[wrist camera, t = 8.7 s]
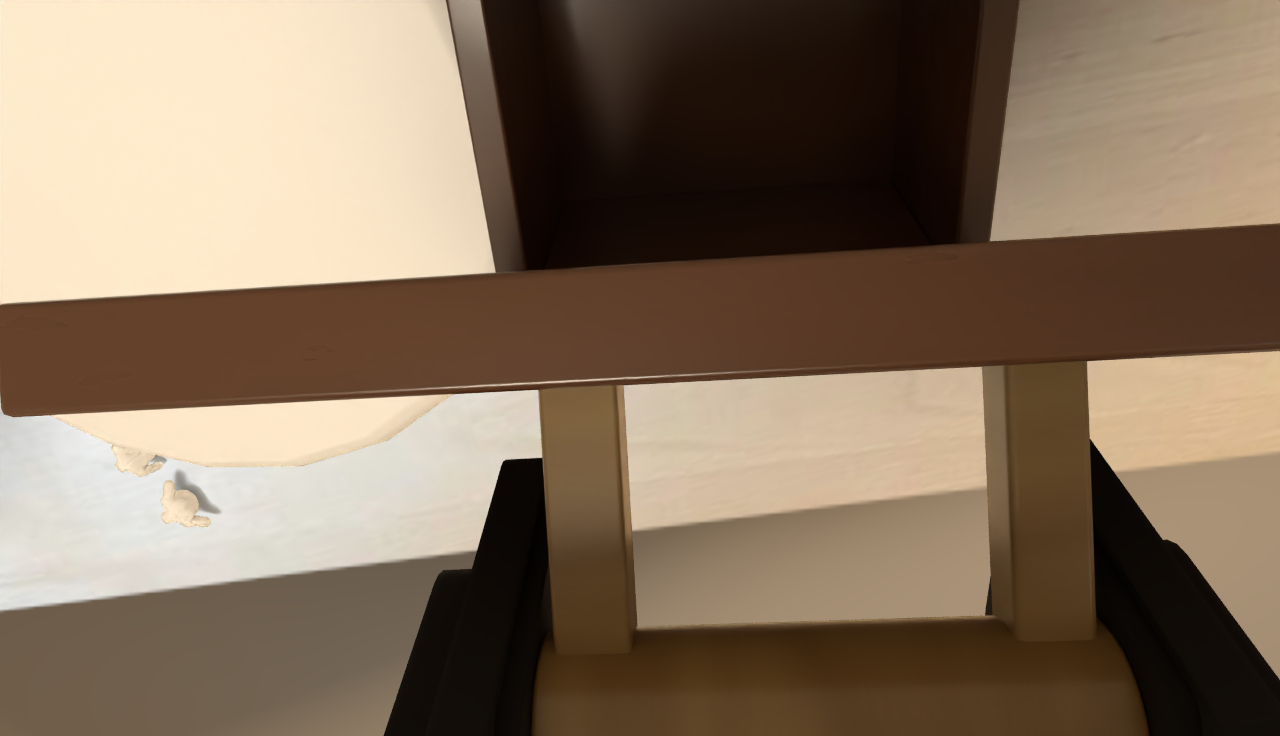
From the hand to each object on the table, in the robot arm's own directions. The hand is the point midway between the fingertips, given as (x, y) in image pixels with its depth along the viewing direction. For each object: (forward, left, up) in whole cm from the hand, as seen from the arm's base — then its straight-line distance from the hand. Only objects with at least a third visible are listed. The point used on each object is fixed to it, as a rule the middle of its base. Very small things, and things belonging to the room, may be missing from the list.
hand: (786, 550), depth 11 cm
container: (-1, -15, -19) cm, 24 cm away
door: (-1, 0, -4) cm, 4 cm away
